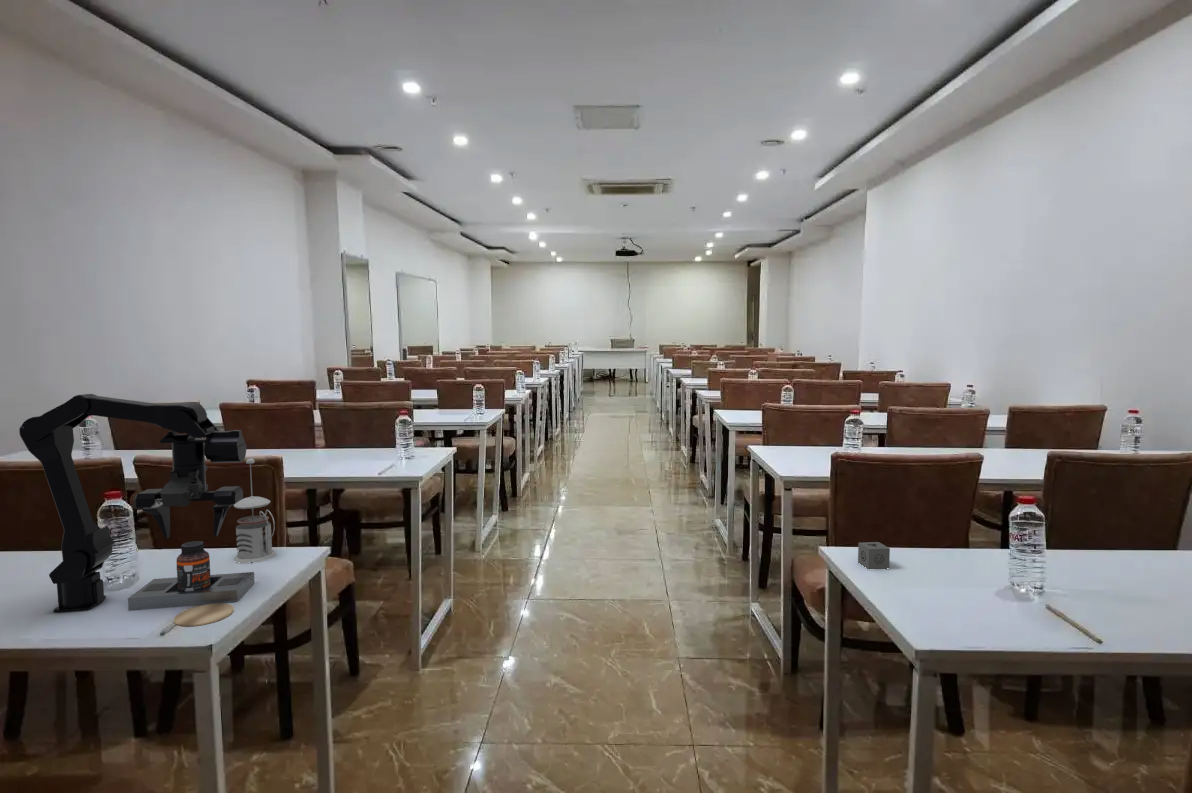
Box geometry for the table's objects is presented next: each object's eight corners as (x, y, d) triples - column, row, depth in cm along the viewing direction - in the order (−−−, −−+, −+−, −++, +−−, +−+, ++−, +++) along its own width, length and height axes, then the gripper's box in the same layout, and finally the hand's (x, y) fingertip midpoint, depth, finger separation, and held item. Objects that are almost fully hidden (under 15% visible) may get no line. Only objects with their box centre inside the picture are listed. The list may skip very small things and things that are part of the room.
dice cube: (878, 562, 154) (878, 541, 153) (889, 569, 149) (889, 548, 148) (857, 563, 153) (858, 542, 153) (868, 570, 148) (868, 549, 148)
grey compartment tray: (128, 610, 129) (127, 598, 128) (154, 590, 139) (153, 578, 139) (237, 601, 132) (236, 589, 132) (254, 582, 143) (254, 571, 143)
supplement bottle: (195, 602, 132) (192, 548, 132) (171, 600, 134) (167, 547, 133) (218, 591, 138) (215, 540, 137) (194, 589, 139) (191, 538, 139)
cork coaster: (164, 628, 120) (164, 626, 120) (187, 607, 130) (187, 605, 130) (223, 623, 122) (222, 621, 122) (241, 603, 132) (241, 601, 132)
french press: (259, 548, 168) (255, 454, 166) (290, 554, 163) (286, 457, 161) (223, 560, 159) (218, 460, 157) (254, 566, 154) (249, 463, 152)
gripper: (118, 472, 124) (121, 551, 125) (224, 469, 128) (227, 546, 129) (145, 462, 135) (148, 535, 136) (242, 459, 139) (245, 531, 140)
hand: (191, 537), depth 135 cm, fingers open, 9 cm apart
